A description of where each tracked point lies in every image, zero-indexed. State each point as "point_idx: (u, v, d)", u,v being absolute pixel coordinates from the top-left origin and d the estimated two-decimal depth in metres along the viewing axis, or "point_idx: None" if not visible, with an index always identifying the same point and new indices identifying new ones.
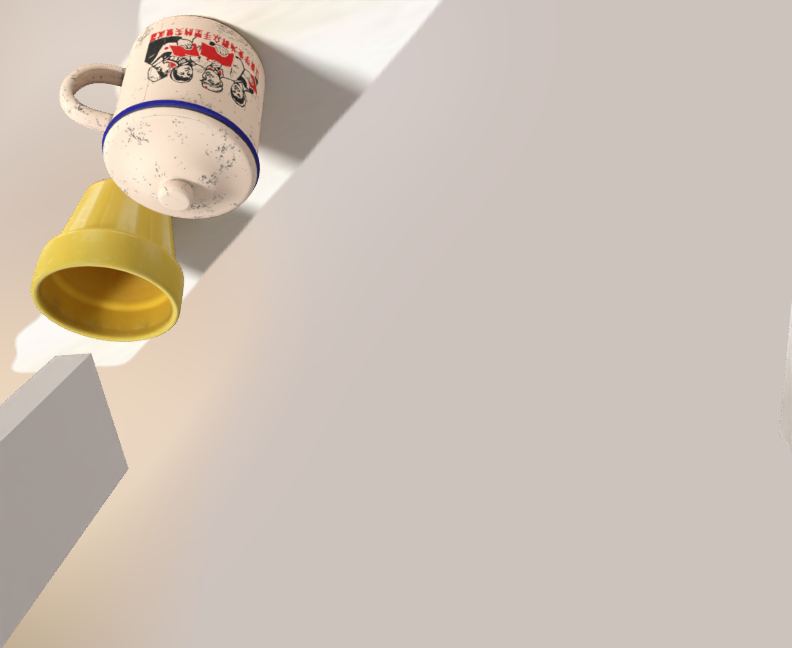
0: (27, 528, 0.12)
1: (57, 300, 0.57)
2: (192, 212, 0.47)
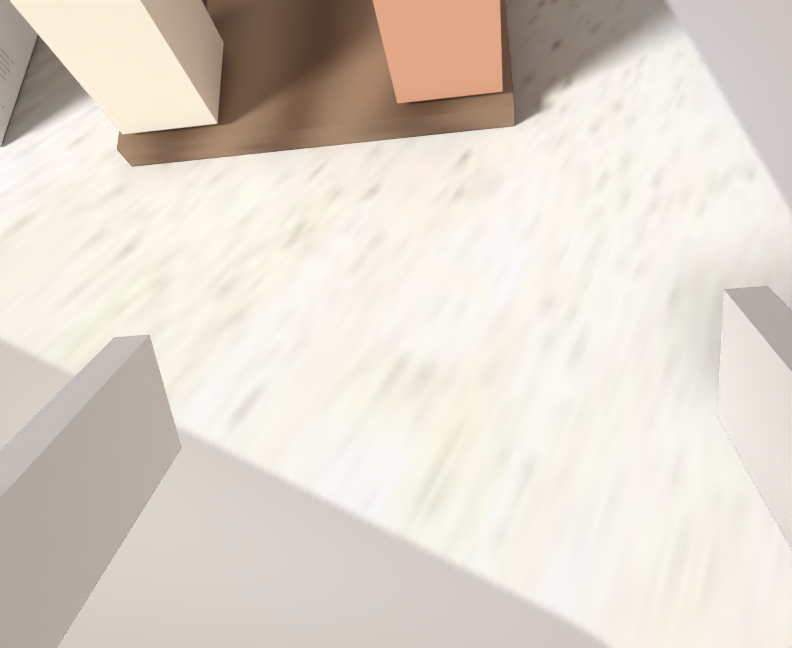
0: (98, 499, 0.13)
1: None
2: None
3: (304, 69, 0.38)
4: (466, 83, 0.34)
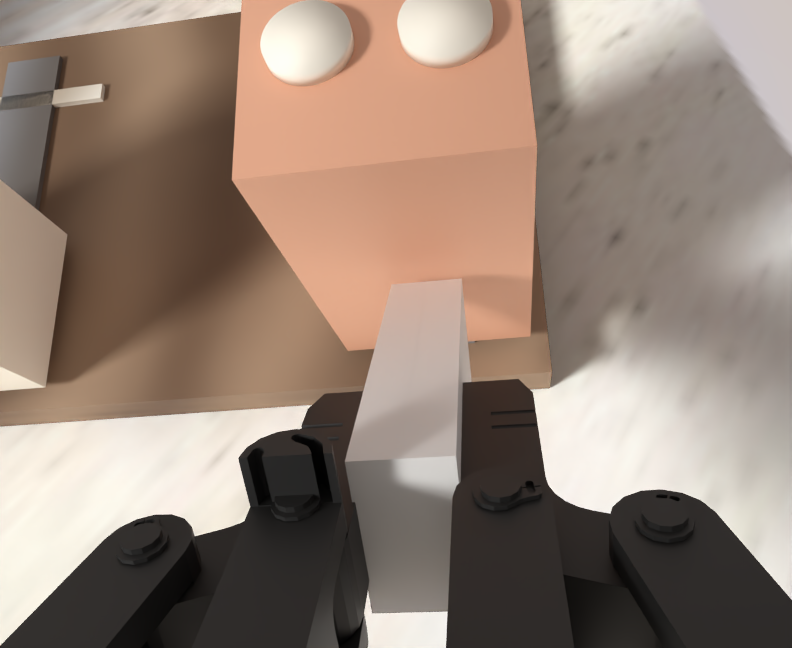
0: None
1: None
2: None
3: (196, 284, 0.23)
4: (467, 329, 0.19)
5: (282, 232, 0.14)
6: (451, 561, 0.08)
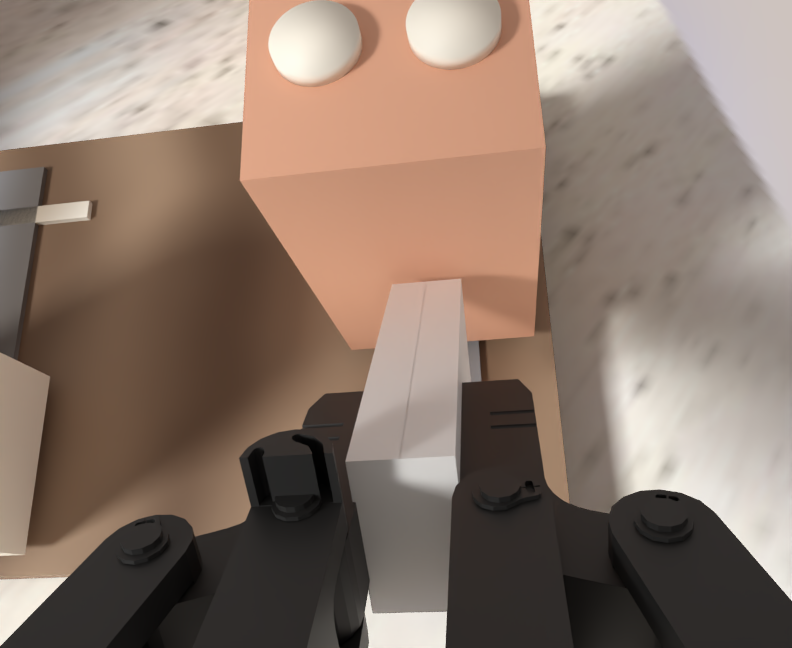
0: None
1: None
2: None
3: (188, 435, 0.21)
4: (470, 329, 0.19)
5: (289, 232, 0.14)
6: (450, 561, 0.08)
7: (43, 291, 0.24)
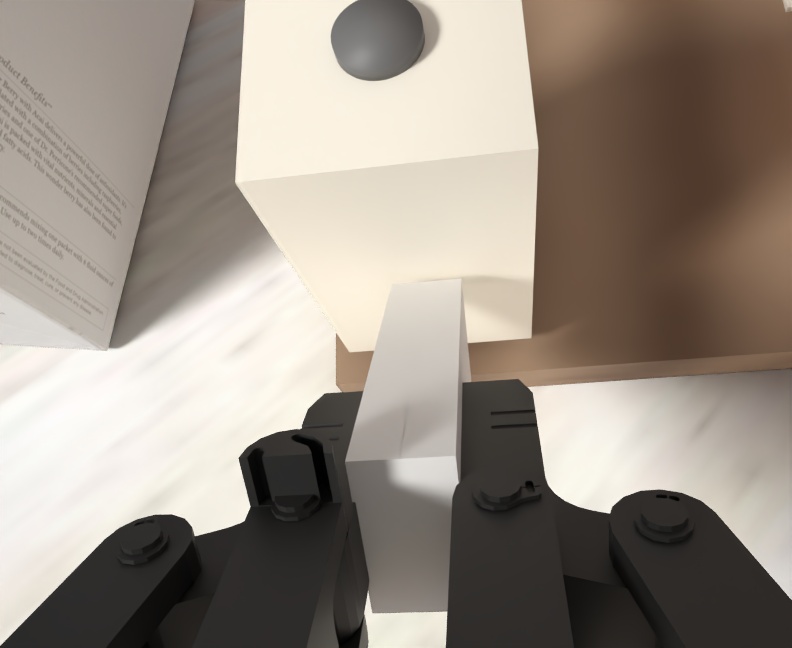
0: None
1: None
2: None
3: (672, 237, 0.21)
4: None
5: None
6: (451, 561, 0.08)
7: None
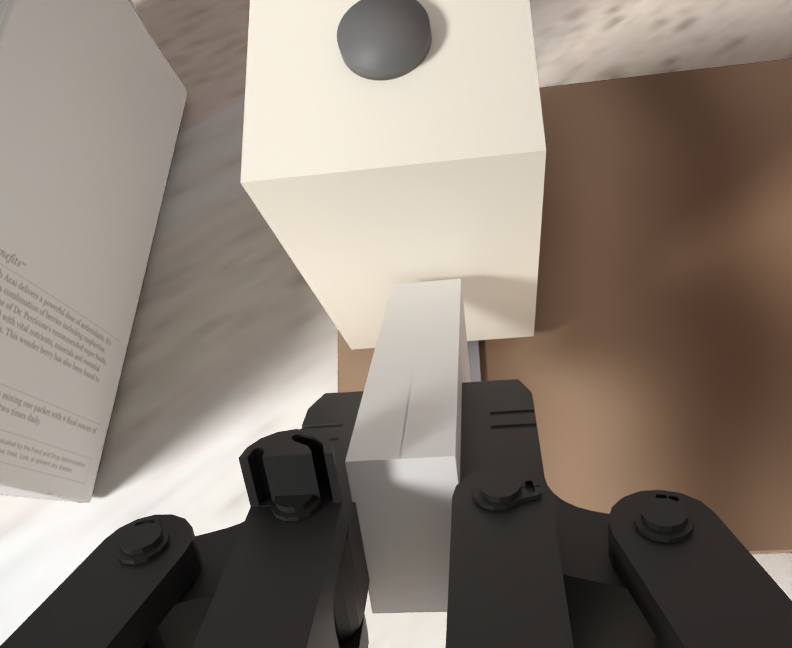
0: None
1: None
2: None
3: (705, 406, 0.19)
4: None
5: None
6: (451, 561, 0.08)
7: None
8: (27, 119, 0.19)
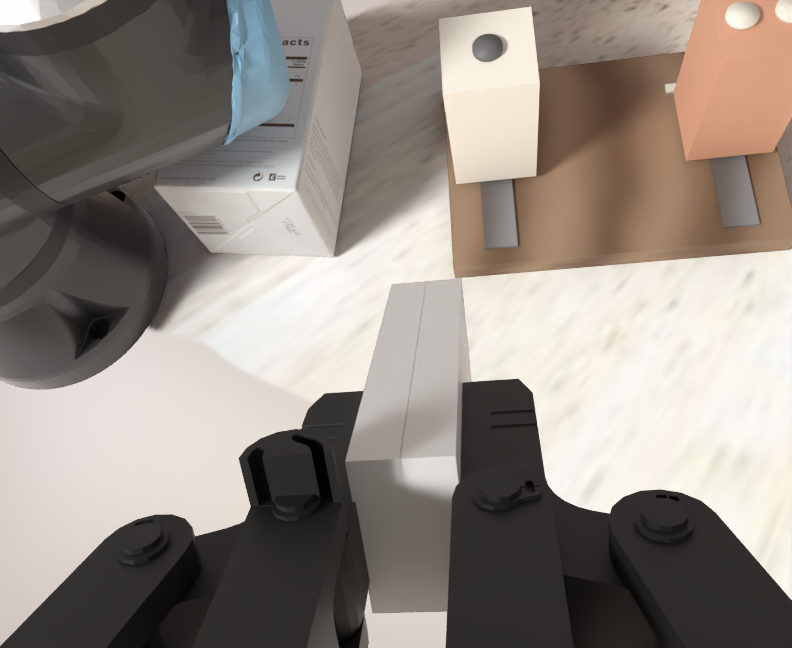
0: None
1: None
2: None
3: (608, 200, 0.46)
4: (748, 146, 0.44)
5: (719, 85, 0.39)
6: (451, 561, 0.08)
7: None
8: (328, 79, 0.45)
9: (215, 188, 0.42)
